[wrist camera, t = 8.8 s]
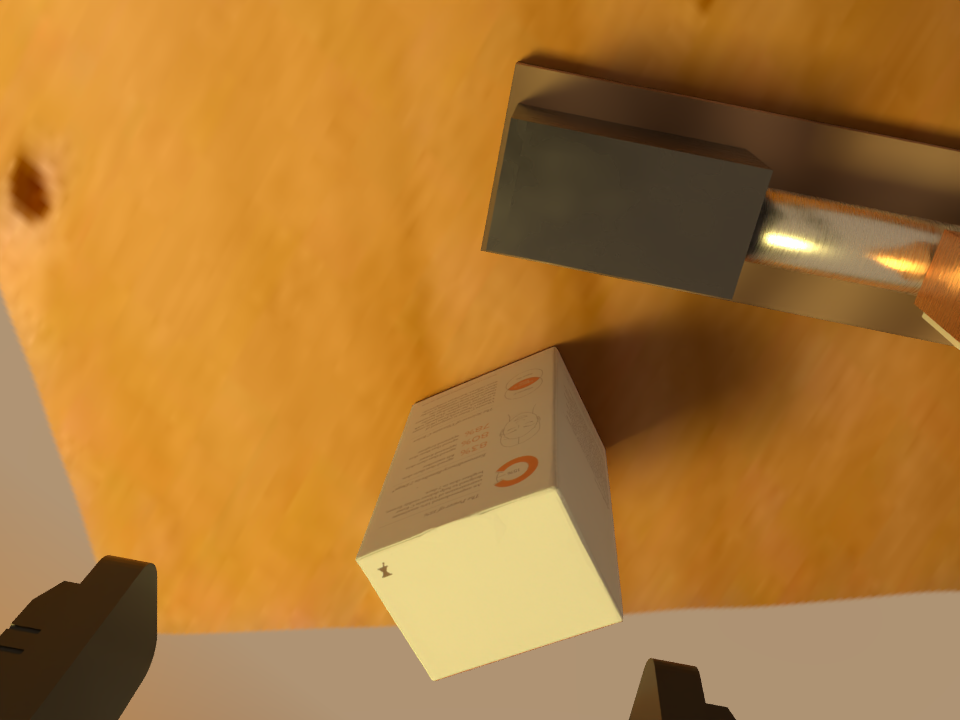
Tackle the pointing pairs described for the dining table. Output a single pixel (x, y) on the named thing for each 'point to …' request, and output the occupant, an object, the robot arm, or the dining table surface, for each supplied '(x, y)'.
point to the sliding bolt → (863, 249)
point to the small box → (496, 521)
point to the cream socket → (941, 331)
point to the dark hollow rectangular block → (627, 201)
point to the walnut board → (776, 182)
